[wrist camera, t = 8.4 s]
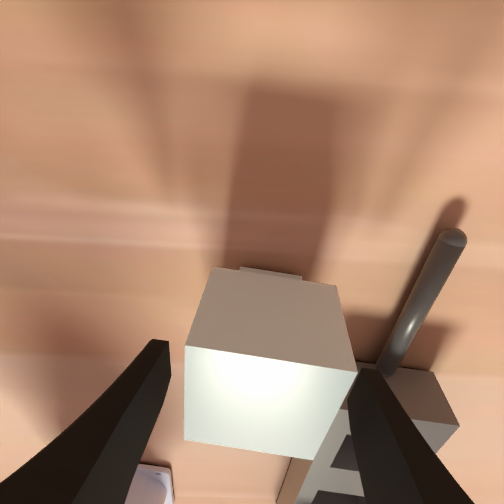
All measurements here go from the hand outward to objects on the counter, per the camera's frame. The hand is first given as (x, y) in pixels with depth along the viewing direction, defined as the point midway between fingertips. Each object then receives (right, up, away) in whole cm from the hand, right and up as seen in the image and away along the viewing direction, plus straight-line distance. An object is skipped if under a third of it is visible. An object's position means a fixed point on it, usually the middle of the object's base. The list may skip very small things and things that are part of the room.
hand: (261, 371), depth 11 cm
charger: (0, +2, +4) cm, 4 cm away
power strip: (+6, -7, +9) cm, 13 cm away
